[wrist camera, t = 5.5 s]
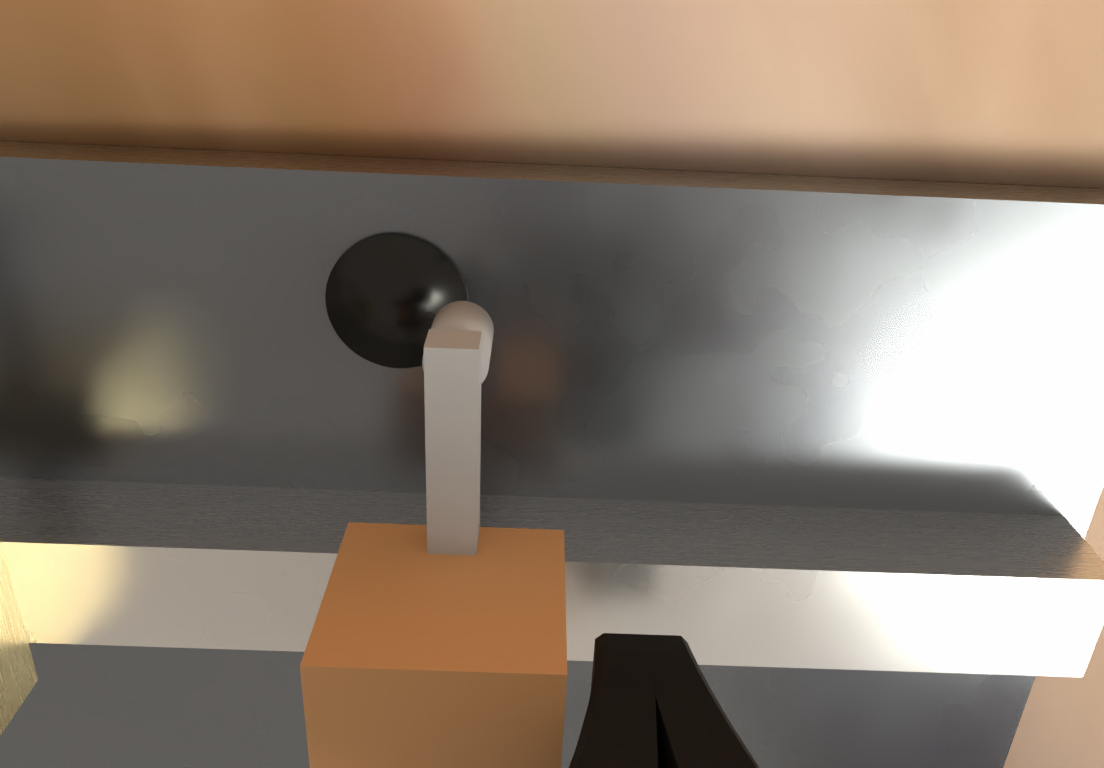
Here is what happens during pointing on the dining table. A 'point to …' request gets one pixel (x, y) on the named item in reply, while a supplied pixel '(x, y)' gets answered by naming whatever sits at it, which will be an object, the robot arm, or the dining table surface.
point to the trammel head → (442, 608)
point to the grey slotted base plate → (546, 436)
